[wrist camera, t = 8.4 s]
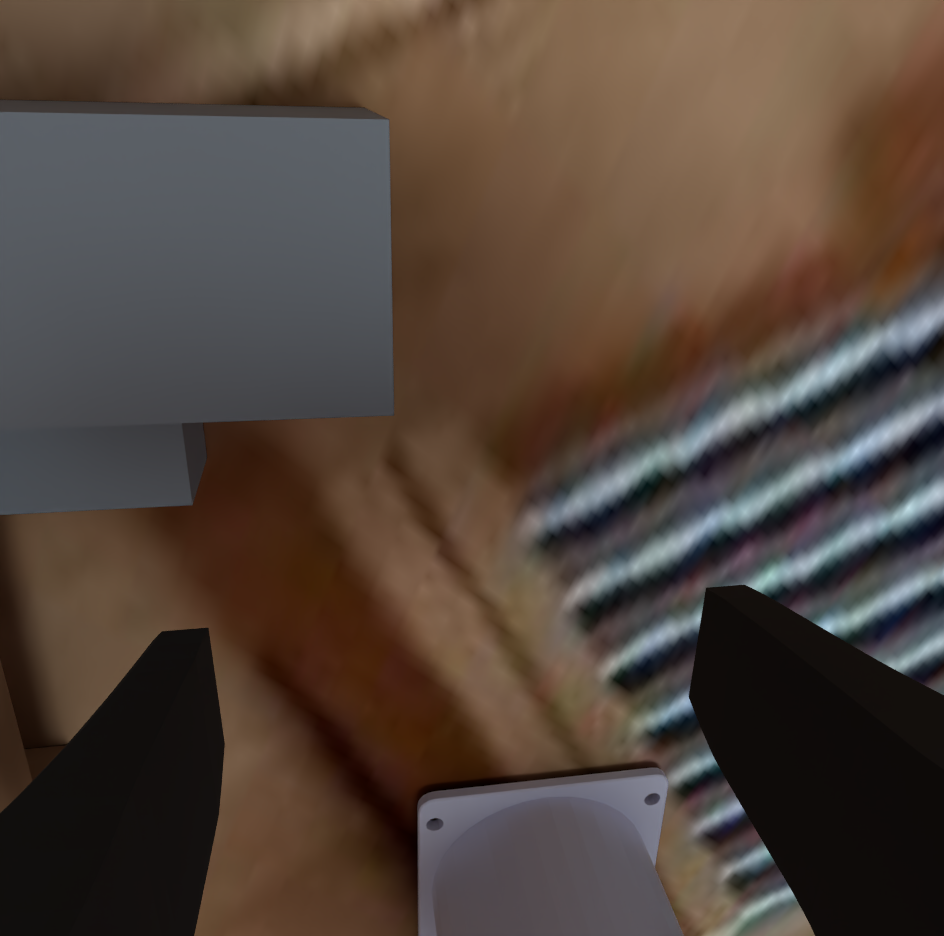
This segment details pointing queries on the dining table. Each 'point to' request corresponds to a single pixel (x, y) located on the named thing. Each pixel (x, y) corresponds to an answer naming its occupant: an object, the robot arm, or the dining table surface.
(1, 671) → the wooden arch block
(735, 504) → the dining table surface
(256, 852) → the dining table surface
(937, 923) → the robot arm
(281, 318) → the grey slotted stand
